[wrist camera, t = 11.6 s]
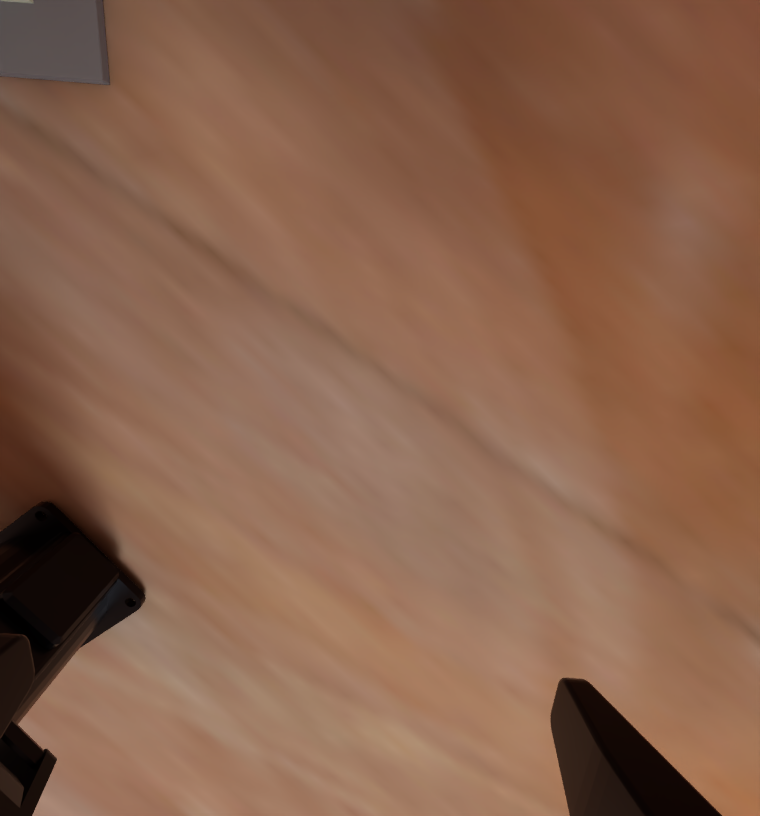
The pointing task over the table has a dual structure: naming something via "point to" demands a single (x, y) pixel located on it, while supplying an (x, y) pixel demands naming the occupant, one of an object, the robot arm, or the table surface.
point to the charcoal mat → (54, 41)
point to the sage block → (21, 0)
